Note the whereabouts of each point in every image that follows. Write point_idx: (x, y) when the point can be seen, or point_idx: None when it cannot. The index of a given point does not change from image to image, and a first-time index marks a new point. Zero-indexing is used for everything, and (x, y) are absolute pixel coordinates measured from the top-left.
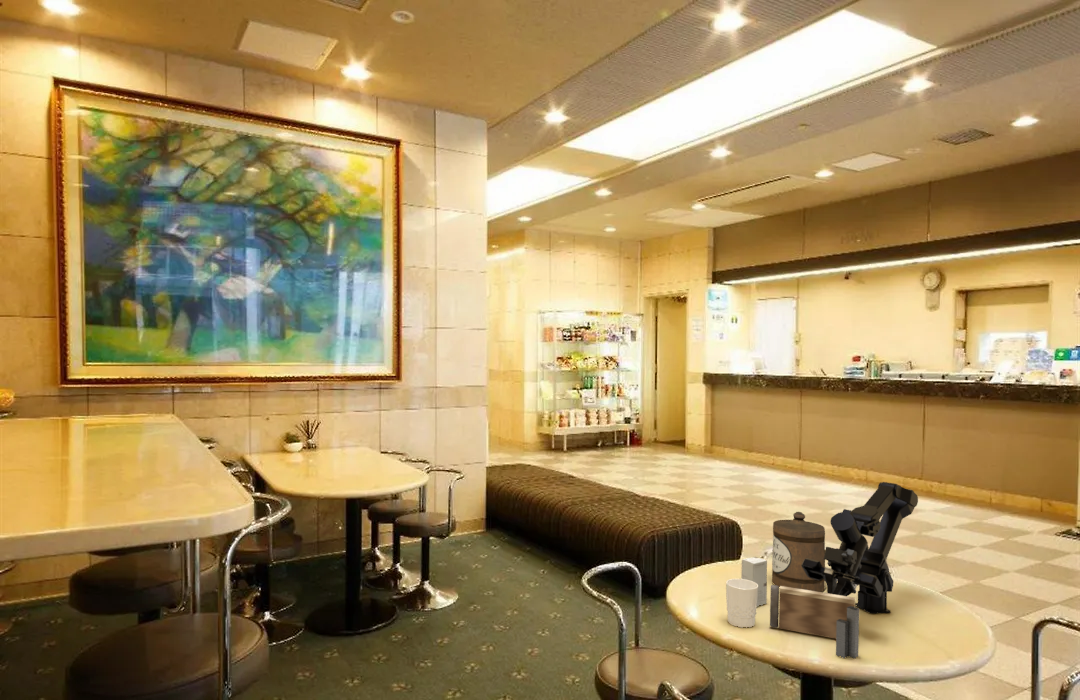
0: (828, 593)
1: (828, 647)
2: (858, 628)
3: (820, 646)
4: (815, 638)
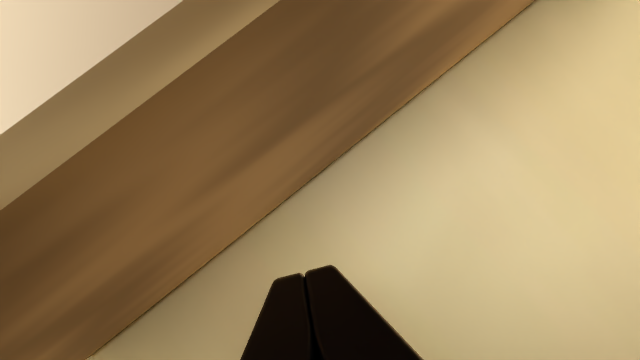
0: (126, 39)
1: None
2: None
3: None
4: None
